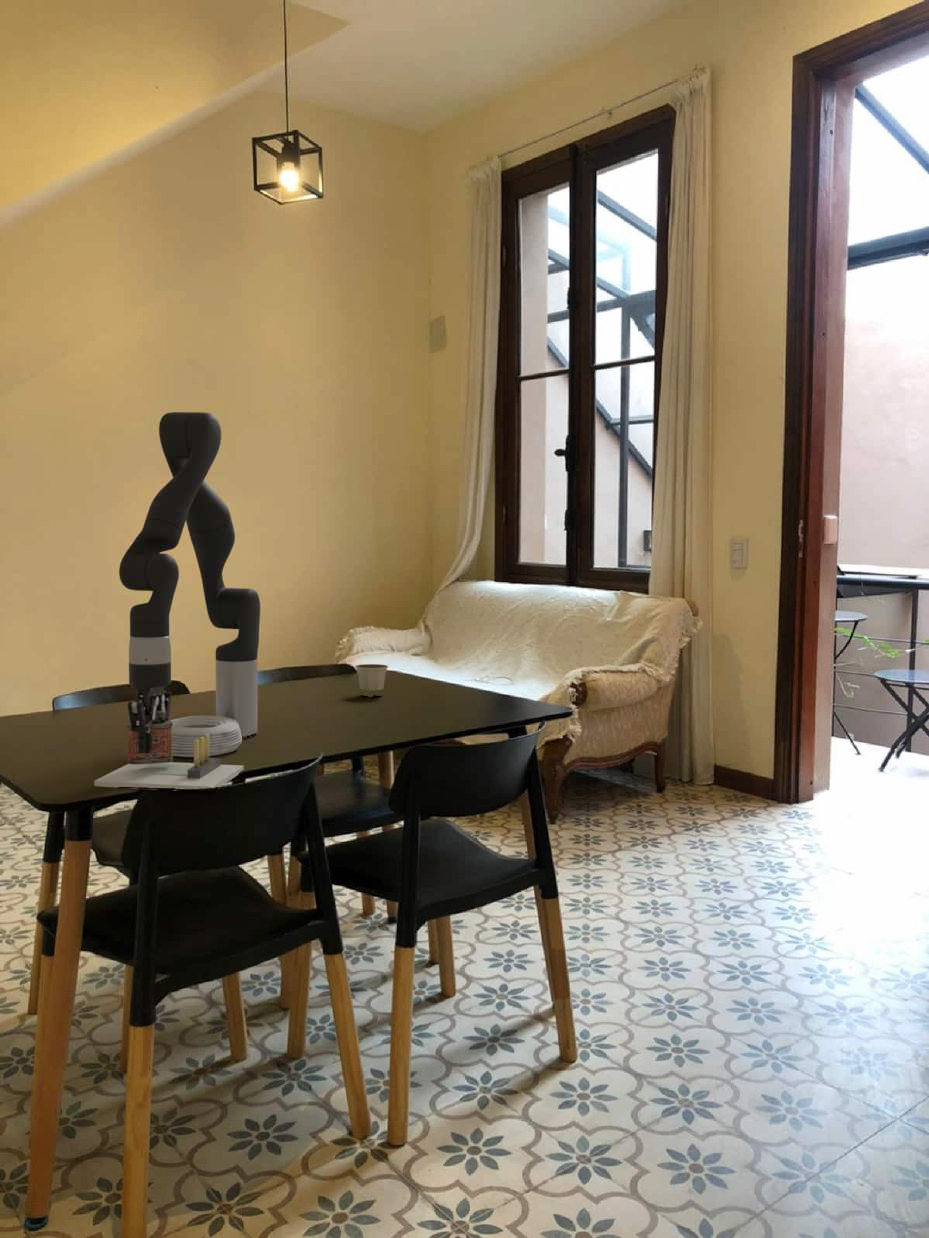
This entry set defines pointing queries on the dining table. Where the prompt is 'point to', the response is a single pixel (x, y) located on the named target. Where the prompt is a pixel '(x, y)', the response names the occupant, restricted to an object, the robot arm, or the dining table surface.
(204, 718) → the cable
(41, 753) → the dining table surface
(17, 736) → the dining table surface
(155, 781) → the board
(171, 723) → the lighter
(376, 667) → the flower pot
